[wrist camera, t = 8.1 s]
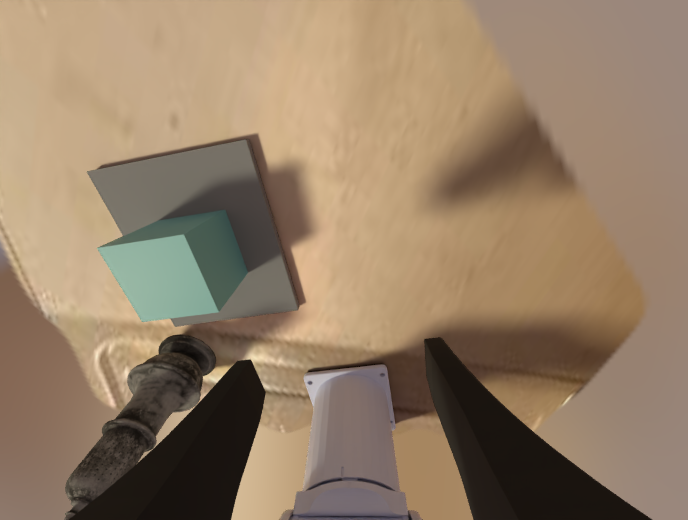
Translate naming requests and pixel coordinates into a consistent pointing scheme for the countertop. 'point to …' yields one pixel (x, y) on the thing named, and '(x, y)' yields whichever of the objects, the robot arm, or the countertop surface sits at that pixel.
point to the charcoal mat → (201, 197)
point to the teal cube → (178, 266)
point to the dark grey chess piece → (142, 416)
